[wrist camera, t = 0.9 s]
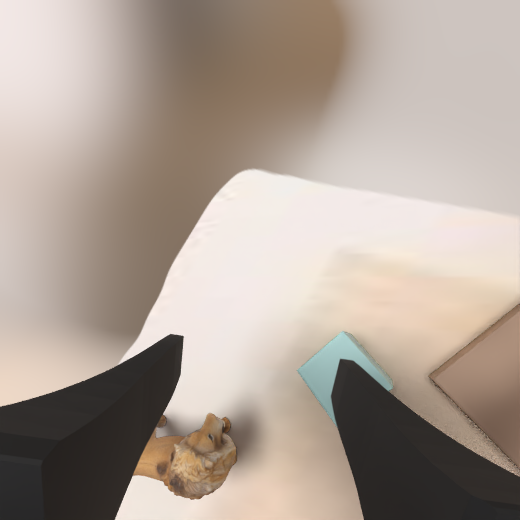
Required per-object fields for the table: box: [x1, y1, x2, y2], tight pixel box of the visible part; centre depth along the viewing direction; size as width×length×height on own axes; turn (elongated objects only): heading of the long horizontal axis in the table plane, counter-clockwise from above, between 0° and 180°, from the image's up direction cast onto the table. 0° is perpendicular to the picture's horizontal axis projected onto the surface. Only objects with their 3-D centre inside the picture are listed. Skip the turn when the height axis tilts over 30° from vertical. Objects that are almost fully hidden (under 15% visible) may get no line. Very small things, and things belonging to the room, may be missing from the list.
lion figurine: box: [133, 413, 237, 500], centre depth 22 cm, size 15×5×9 cm, turn 102°
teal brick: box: [297, 331, 393, 428], centre depth 20 cm, size 4×4×5 cm
